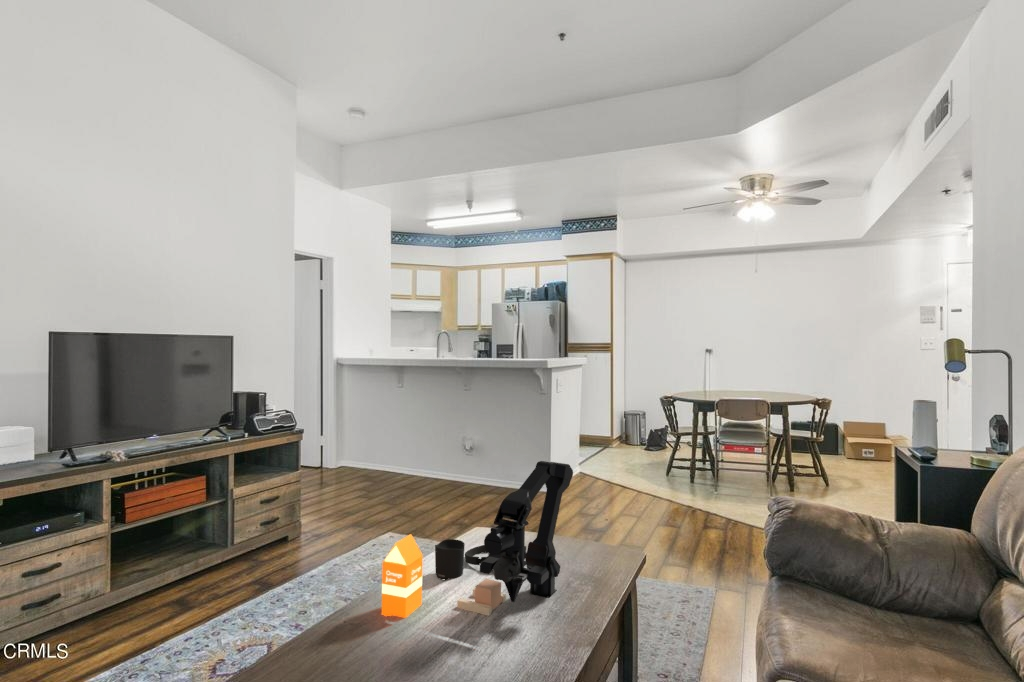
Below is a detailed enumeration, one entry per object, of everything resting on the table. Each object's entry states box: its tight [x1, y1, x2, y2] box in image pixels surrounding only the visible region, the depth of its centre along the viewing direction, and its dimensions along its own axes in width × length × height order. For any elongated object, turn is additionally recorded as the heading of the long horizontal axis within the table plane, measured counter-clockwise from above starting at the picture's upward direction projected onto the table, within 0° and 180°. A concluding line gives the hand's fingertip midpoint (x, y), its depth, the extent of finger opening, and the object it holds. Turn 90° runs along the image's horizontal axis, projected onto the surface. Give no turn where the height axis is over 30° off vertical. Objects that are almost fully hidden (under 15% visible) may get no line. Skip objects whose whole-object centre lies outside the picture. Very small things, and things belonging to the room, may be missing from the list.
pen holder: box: [434, 538, 465, 581], centre depth 181 cm, size 9×9×10 cm
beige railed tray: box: [456, 587, 507, 617], centre depth 162 cm, size 18×12×2 cm, turn 63°
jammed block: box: [474, 578, 502, 612], centre depth 159 cm, size 5×6×6 cm
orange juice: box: [381, 533, 424, 619], centre depth 156 cm, size 8×9×20 cm
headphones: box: [464, 544, 527, 571], centre depth 194 cm, size 17×7×20 cm
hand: (513, 601), depth 155 cm, fingers closed
